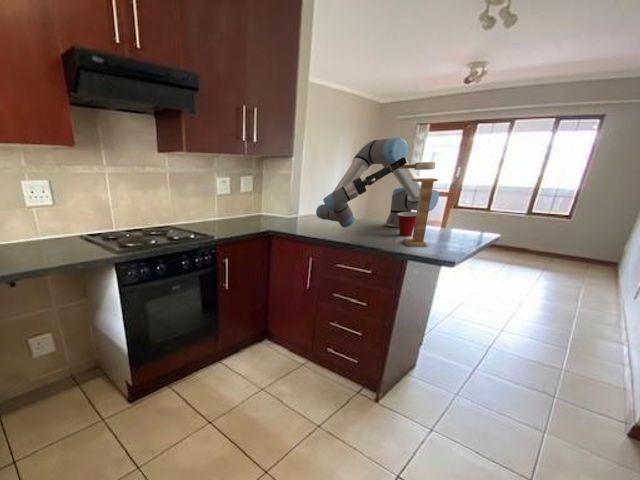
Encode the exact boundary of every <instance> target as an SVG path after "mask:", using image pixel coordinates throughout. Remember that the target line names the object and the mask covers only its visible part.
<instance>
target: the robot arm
mask: <svg viewBox="0 0 640 480" xmlns="http://www.w3.org/2000/svg"><path fill="white" fill-rule="evenodd" d="M408 154H409V144H408V143H407V141H406V140H405V139H403V138H401V137H390V138H382V139H373V140H371V141H369V142H367V143H366V144H365V145H364V146H362V148H361V149H360V150H358V152H356V155H354V157H353V159H352V160H351V165H350V166H349V167H348V169H347V170H346V171H345V174H344V175H343V176H342V177H341V179H340V181H339V182H338V184H337V185H336V186H335V188H334V190H333V191H332V192H331V193H329V194H328V195H326V196H325V197H323V199H322V201H323V203H324V204H320V205H318V206H317V208H316V210H315V215H316V217H317V218H318V219H321V220H325V221H332V222H337V223H338V224H339V225H340V226H341V227H342V228H348V227H350V226H352V225H353V224H354V223H355V221H356V219H355V216H354V213H353V211H352V209H351V207H350V205H349V204H348V202H350V201H353V200H354V199H356V198H358V196H361V195H363V194H364V193H366V192H367V188H366V187H367V186H372V185H373V184H374V183H376V182H378V181H380V180H381V179H382V178H384V177H386V176H387V175H389V174H392V175H393V176H394V177H395V179H396V180H397V181H398V183H399V184H400V185H401V187H398V188H394V189H393V190H392V195H391V201H390V213H389V215H388V216H387V219H386V221H385V227H388V228H395V229H399V218H398V215H397V214H398V213H401V212H412V211H417V207H418V201H419V195H420V188H421V182H416V181H412V179H417V178H420V177H419V176H418V174H417V172H416V170H414V168H408V169H397V168H399V167H401V166H402V165H411V164H410V163H409V161H408V159H407V158H408ZM373 165H381V166H383V167H382V168H381V169H380V170H377V171H376V172H374V173H371V174H370V175H367V176H365V177H364V179H362V178H361V177H362V175H363V174H364V172H366V171H368V170H369V168H370V167H371V166H373ZM387 165H390V166H389V167H388V168H387ZM439 198H440V194H439V191H438V190H436V189H432V195H431V200H430V206H429V212H432V211H433V210H434V209H435V208H436V206H437V205H438V202H439V200H440V199H439Z"/></svg>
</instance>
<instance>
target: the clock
mask: <svg viewBox="0 0 640 480" xmlns="http://www.w3.org/2000/svg"><path fill="white" fill-rule="evenodd" d="M389 166H390V165H387V168H388V167H389ZM408 168H413V170H414V171H427V170H435V168H436V161H426V162H425V161H424V162H421V161H420V162H415V163H414V164H410V165H402V166H401V167H399V168H397V169H408Z"/></svg>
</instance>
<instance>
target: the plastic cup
mask: <svg viewBox="0 0 640 480" xmlns="http://www.w3.org/2000/svg"><path fill="white" fill-rule="evenodd" d="M416 214H417V211H411V212H401V213H398V214H397V215H398V218H399V228H398V229H399V236H402V237H411V236H412V235H413V233H414V226H415V220H416Z"/></svg>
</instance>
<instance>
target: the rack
mask: <svg viewBox="0 0 640 480" xmlns="http://www.w3.org/2000/svg"><path fill="white" fill-rule="evenodd" d="M438 180H439V179H438V178H434V177H433V178H432V177H429V178H428V177H424V178H423V177H422V178H420V177H419V178H417V179H412V181H416V182H421V188H420V195H419V201H418V207H417V210H416V212H417V214H416V220H415V226H414V229H413V232H412V238H403V239H402V243H404V244H405V245H406V246H407V247H427V242H426V241H424V240H425V236H426V235H425V234H426V229H427V224H428V219H429V218H428V217H429V212H430V211H429V206H430V200H431V195H432V190H434V189H433V188H434V183H435V182H438Z"/></svg>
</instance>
